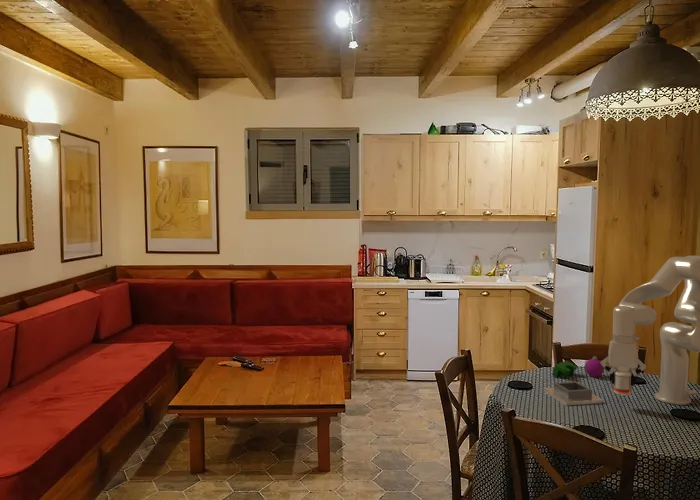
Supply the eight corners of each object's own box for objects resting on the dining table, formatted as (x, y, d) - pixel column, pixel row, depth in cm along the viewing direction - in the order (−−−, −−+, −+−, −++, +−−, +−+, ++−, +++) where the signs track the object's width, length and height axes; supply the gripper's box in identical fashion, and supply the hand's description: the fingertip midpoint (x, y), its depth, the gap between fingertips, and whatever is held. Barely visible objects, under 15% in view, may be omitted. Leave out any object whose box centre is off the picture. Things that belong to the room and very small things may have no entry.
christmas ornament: (584, 372, 249) (585, 351, 248) (603, 374, 245) (604, 353, 245) (584, 377, 241) (585, 356, 240) (604, 380, 238) (605, 358, 237)
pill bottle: (620, 388, 208) (621, 361, 207) (634, 393, 203) (635, 365, 202) (609, 391, 206) (610, 363, 205) (624, 396, 200) (624, 367, 199)
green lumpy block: (563, 387, 240) (565, 373, 236) (551, 381, 244) (552, 367, 240) (577, 373, 246) (579, 359, 242) (565, 367, 251) (566, 353, 246)
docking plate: (578, 389, 225) (578, 379, 225) (602, 403, 210) (602, 392, 209) (543, 391, 223) (544, 381, 222) (565, 405, 207) (566, 394, 207)
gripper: (648, 337, 202) (646, 383, 204) (598, 334, 209) (597, 378, 211) (650, 342, 195) (649, 389, 197) (598, 339, 202) (598, 384, 204)
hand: (622, 383), depth 204 cm, fingers closed on pill bottle, 6 cm apart
